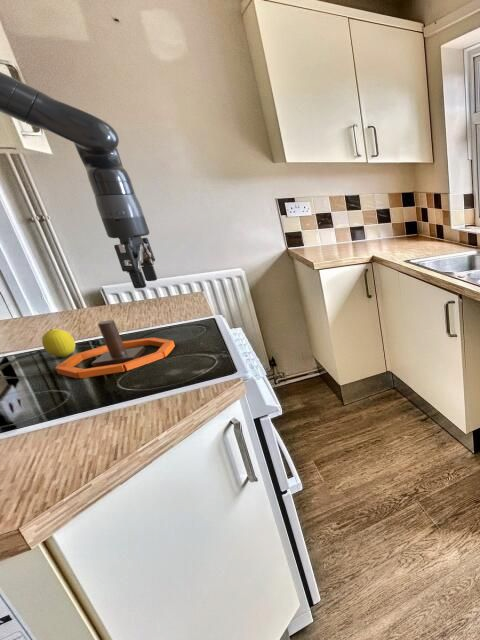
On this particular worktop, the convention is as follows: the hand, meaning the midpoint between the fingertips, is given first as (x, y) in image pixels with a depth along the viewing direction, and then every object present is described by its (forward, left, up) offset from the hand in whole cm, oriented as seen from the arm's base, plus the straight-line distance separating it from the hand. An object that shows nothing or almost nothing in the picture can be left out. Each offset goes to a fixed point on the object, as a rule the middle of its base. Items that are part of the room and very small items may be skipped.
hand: (146, 284), depth 103 cm
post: (-10, 0, -18) cm, 21 cm away
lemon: (-24, +8, -18) cm, 31 cm away
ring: (-10, 0, -18) cm, 21 cm away
